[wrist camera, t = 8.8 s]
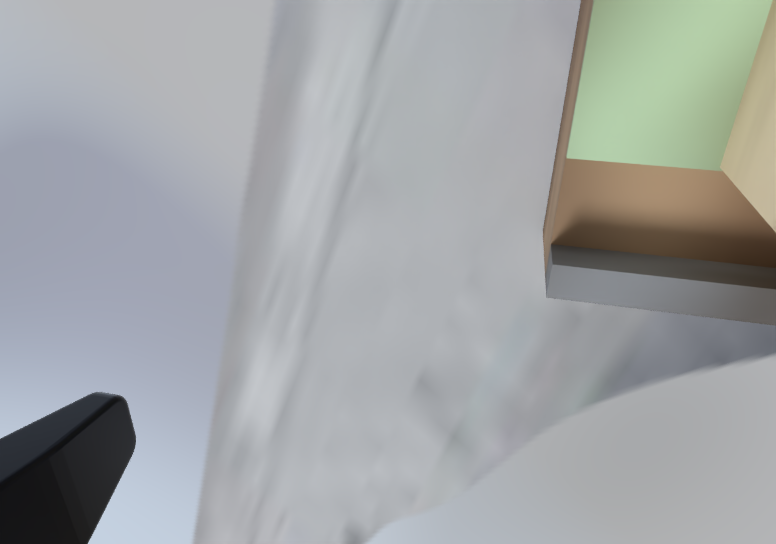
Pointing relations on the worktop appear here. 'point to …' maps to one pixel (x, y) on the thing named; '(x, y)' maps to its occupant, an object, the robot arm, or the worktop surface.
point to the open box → (658, 164)
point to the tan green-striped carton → (757, 130)
